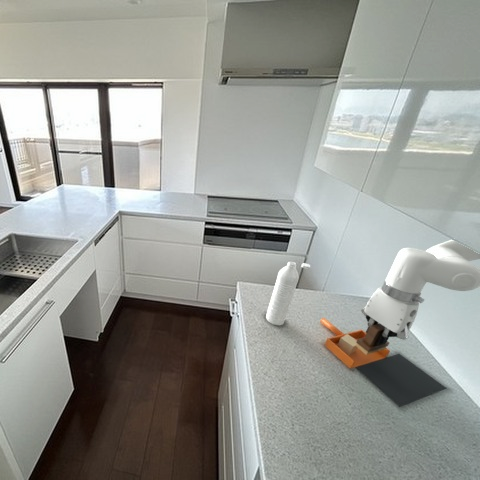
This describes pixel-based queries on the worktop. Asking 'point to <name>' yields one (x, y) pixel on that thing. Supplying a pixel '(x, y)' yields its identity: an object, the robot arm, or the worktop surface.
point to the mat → (400, 379)
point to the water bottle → (283, 293)
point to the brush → (371, 340)
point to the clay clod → (347, 344)
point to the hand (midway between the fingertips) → (374, 339)
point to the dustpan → (356, 357)
